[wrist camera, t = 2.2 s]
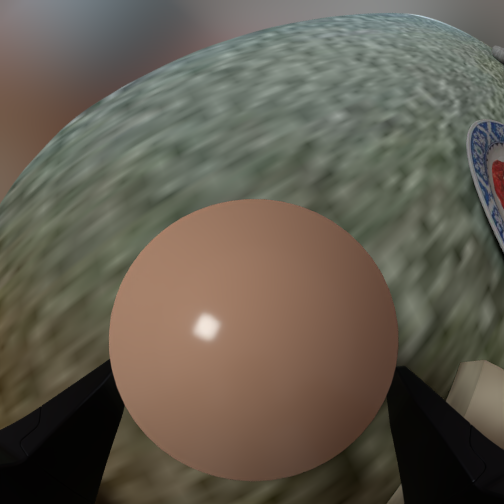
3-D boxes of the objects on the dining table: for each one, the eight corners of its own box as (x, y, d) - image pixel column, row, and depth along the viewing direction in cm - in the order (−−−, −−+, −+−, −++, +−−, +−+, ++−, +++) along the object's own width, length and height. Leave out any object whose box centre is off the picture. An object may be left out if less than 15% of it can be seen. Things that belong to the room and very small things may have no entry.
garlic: (503, 62, 36) (509, 49, 31) (508, 69, 34) (514, 56, 29) (487, 51, 37) (493, 38, 32) (492, 57, 35) (497, 44, 30)
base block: (474, 510, 9) (491, 518, 6) (385, 504, 11) (401, 521, 9) (529, 395, 12) (550, 394, 9) (460, 362, 15) (484, 359, 12)
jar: (280, 408, 15) (306, 517, 3) (205, 367, 16) (70, 374, 4) (321, 333, 17) (431, 271, 5) (246, 296, 18) (202, 165, 6)
